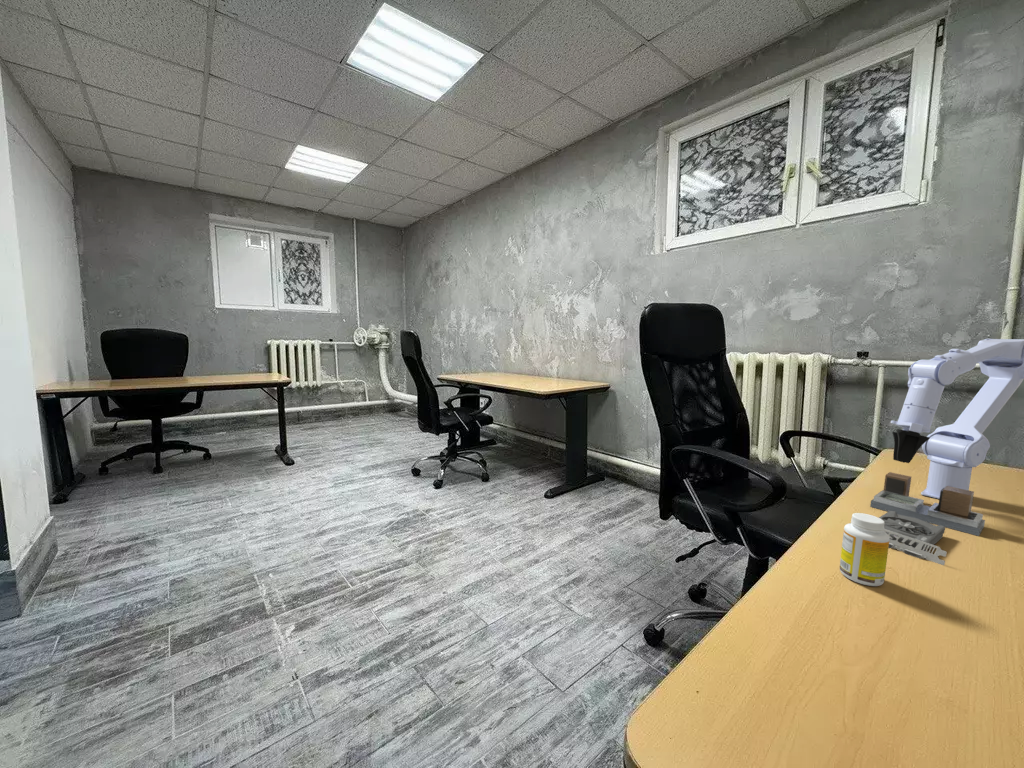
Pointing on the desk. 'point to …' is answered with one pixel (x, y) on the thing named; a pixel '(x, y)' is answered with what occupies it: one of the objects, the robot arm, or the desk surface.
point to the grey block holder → (936, 509)
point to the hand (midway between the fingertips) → (900, 461)
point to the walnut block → (897, 483)
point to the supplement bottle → (864, 550)
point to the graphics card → (913, 536)
